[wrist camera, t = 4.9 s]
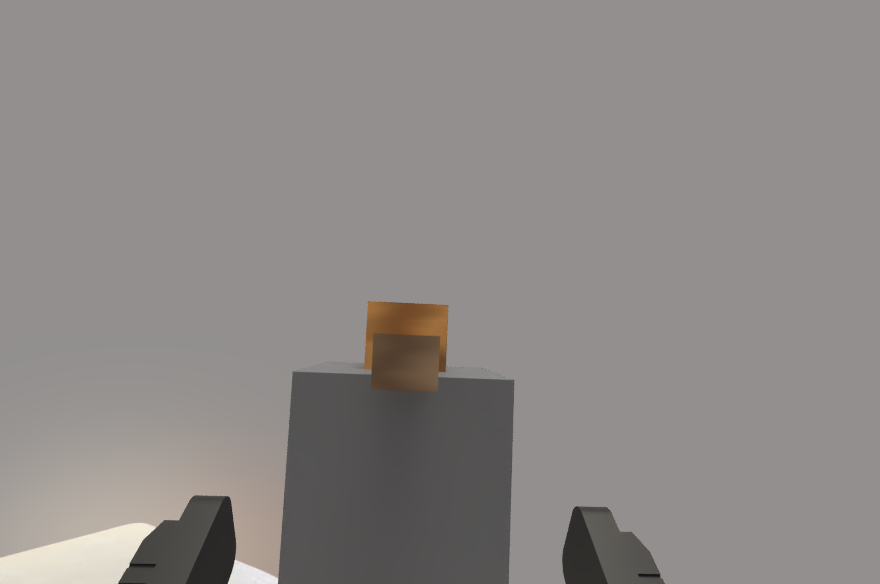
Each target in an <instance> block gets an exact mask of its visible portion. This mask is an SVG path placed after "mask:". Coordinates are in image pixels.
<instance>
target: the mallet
mask: <svg viewBox="0 0 880 584" xmlns="http://www.w3.org/2000/svg"><path fill="white" fill-rule="evenodd" d="M447 324H448V305H434V304H414V303H392V302H371V301H369V302H368V312H367V329H366V330H367V331H366V347H365V365H364V369H372V372H371V390H394V391H421V392H438V374H439V372H446V348H447V347H446V346H447Z"/></svg>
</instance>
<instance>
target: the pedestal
mask: <svg viewBox="0 0 880 584" xmlns="http://www.w3.org/2000/svg"><path fill="white" fill-rule="evenodd" d="M364 365H365V363H342V362H326V363H322V364H318V365H315V366H311V367H307V368H304V369H300V370H297V371H293V377H292V392H291V406H290V420H289V435H288V449H287V464H286V479H285V492H284V507H283V521H282V535H281V551H280V564H279V579H278V584H508V583H509V547H510V511H511V510H510V509H511V476H512V475H511V474H512V441H513V440H512V439H513V406H514V405H513V404H514V380H513V379H510V378H507V377H505V376H502V375H499V374H497V373H494V372H491V371H489V370H486V369H483V368H469V367H467V368H466V367H446V372H439V374H438V392H421V391H394V390H371V372H372V369H364Z"/></svg>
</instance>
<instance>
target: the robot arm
mask: <svg viewBox="0 0 880 584" xmlns="http://www.w3.org/2000/svg"><path fill="white" fill-rule="evenodd" d="M235 554H236V538H235V531H234V523H233V514H232V506H231V500H230V498H229V497H228V496H193V497H192V498H191V500H190V501H189V503H188V505H187V507H186V509H185V510H184V512H183V514H182V516H181V518H180V520H179V521H174V520H164V521H163V522H162V523H161V524H160V525H159V526H158V527H157V528H156V529H155V530H154V531H152V532H151V533H150V534H149V535H148V536H147V537H146V538H145V539H144V540H143V541H142V543H141V545H140V546H139V548H138V550H137V552H136V553H135V555H134V557H133V559H132V560H131V562H130V566H129V568H127V569H126V571H125V572H124V574H123V576H122V578H121V579H120V581H119V583H118V584H228V581H229V578H230V575H231V572H232V569H233V565H234V560H235ZM562 563H563V573H564V578H565V582H566V584H665V583H664V581H663V579H661V578H660V573H659V570H658V569H657V566H656V564H655V562H654V560H653V558H652V556H651V554H650V552H649V550H648V549H647V548H646V547H645V546H644V545H643V544H642V543H641V542H640V541H639V539H638V538H636V536H635V535H634V534H633V533H632V532H620V531H619V529H618V527H617V525H616V523H615V520H614V518H613V515H612V513H611V511H610V510H609V509H608V508H607V507H575V508H574V509H573V512H572V516H571V521H570V524H569V529H568V533H567V537H566V541H565V545H564V549H563V557H562Z"/></svg>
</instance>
